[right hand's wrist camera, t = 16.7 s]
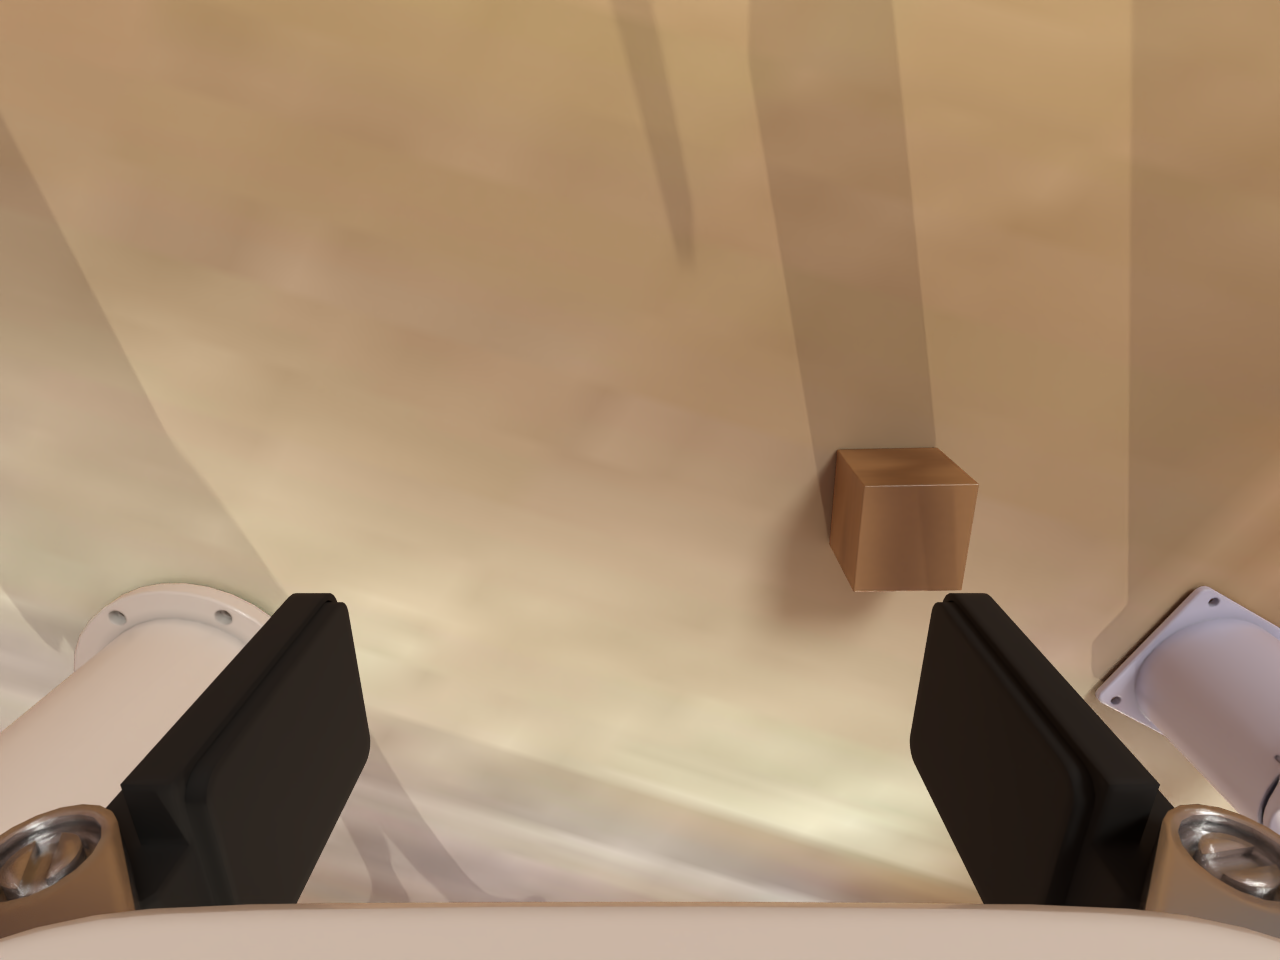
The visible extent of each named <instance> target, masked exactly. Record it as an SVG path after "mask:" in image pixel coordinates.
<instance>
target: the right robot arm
mask: <svg viewBox="0 0 1280 960" xmlns="http://www.w3.org/2000/svg"><path fill="white" fill-rule="evenodd" d="M369 749H370V734H369V729H368V723H367V717H366V711H365V705H364V700H363V694H362V688H361V682H360V677H359V671H358V665H357V659H356V653H355V648H354V642H353V636H352V630H351V624H350V619H349V613H348V609H347V606H346V605H345V603H343V602H337V600H336V598H335V597H334V595H332V594H331V593H295V594H292V595H291V596H290V597H288V599H287V600H286V601H285V602H284V603H283V604H282V605H281V606H280V607H279V609H278V610H277V611H276V612H275V613H274V614H273V615H272V616H270V615H268V614H267V613H265V612H264V611H262V610H261V609H259V608H258V607H256V606H255V605H253V604H251V603H249V602H247V601H245V600H243V599H241V598H239V597H237V596H235V595H233V594H230V593H227V592H224V591H220V590H217V589H214V588H211V587H207V586H200V585H194V584H188V583H161V584H155V585H150V586H145V587H140V588H138V589H135V590H133V591H130V592H128V593H125V594H123V595H121V596H120V597H118V598H117V599H115V600H114V601H112V602H111V603H110V604H108V605H107V606H105V607H104V608H102V609H101V610H100V611H99V612H98V613H97V614H96V615H95V616H94V617H93V618H91V619H90V620H89V622H88V623H87V625H86V626H85V628H84V629H83V631H82V633H81V634H80V636H79V639H78V642H77V646H76V649H75V653H74V673H73V674H72V675H70V676H69V677H68V678H67V679H65V680H64V681H63V682H62V683H61V684H59V685H58V686H57V687H56V688H55V689H53V690H52V691H51V692H50V693H48V694H47V695H46V696H45V697H44V698H42V699H41V700H40V701H39V702H37V703H36V704H35V705H34V706H33V707H31V708H30V709H29V710H28V711H27V712H25V713H24V714H23V715H22V716H20V717H19V718H18V719H17V720H16V721H14V722H13V723H12V724H11V725H9V726H8V727H7V728H6V729H5V730H3V731H2V732H1V733H0V960H1280V835H1279V834H1277V833H1276V832H1274V831H1273V830H1271V829H1270V828H1268V827H1266V826H1264V825H1262V824H1260V823H1258V822H1256V821H1254V820H1252V819H1250V818H1248V817H1246V816H1243V815H1241V814H1238V813H1235V812H1231V811H1228V810H1225V809H1222V808H1219V807H1213V806H1207V805H1200V804H1192V805H1180V806H1178V807H1176V808H1174V807H1173V806H1172V805H1171V804H1170V802H1169V801H1168V800H1167V799H1166V798H1165V797H1164V796H1163V795H1162V793H1161V792H1160V791H1159V790H1158V789H1159V786H1160V784H1159V783H1158V782H1157V781H1156V780H1155V779H1154V777H1153V776H1152V775H1151V774H1150V773H1149V772H1148V771H1147V770H1146V769H1145V767H1144V766H1143V765H1142V764H1141V763H1140V762H1139V761H1138V760H1137V759H1136V757H1135V756H1134V755H1133V754H1132V753H1131V752H1130V751H1129V750H1128V749H1127V747H1126V746H1125V745H1124V744H1123V743H1122V742H1121V741H1120V740H1119V739H1118V737H1117V736H1116V735H1115V734H1114V733H1113V732H1112V731H1111V730H1110V729H1109V727H1108V726H1107V725H1106V724H1105V723H1104V722H1103V721H1102V720H1101V719H1100V717H1099V716H1098V715H1097V714H1096V713H1095V712H1094V711H1093V710H1092V709H1091V707H1090V706H1089V705H1088V704H1087V703H1086V702H1085V701H1084V700H1083V699H1082V697H1081V696H1080V695H1079V694H1078V693H1077V692H1076V691H1075V690H1074V689H1073V687H1072V686H1071V685H1070V684H1069V683H1068V682H1067V681H1066V680H1065V679H1064V677H1063V676H1062V675H1061V674H1060V673H1059V672H1058V671H1057V670H1056V669H1055V667H1054V666H1053V665H1052V664H1051V663H1050V662H1049V661H1048V660H1047V659H1046V657H1045V656H1044V655H1043V654H1042V653H1041V652H1040V651H1039V650H1038V649H1037V647H1036V646H1035V645H1034V644H1033V643H1032V642H1031V641H1030V640H1029V639H1028V637H1027V636H1026V635H1025V634H1024V633H1023V632H1022V631H1021V630H1020V629H1019V627H1018V626H1017V625H1016V624H1015V623H1014V622H1013V621H1012V620H1011V619H1010V617H1009V616H1008V615H1007V614H1006V613H1005V612H1004V611H1003V610H1002V609H1001V607H1000V606H999V605H998V604H997V603H996V602H995V601H994V600H993V599H992V597H990V596H989V595H988V594H985V593H949V594H948V595H946V597H945V598H944V600H943V602H937V603H935V605H934V606H933V609H932V613H931V619H930V624H929V630H928V636H927V642H926V648H925V653H924V659H923V665H922V671H921V677H920V682H919V688H918V694H917V700H916V705H915V711H914V717H913V723H912V729H911V734H910V750H911V755H912V759H913V761H914V764H915V766H916V768H917V770H918V772H919V774H920V776H921V778H922V780H923V782H924V784H925V786H926V788H927V790H928V792H929V794H930V796H931V798H932V800H933V802H934V804H935V806H936V808H937V810H938V812H939V814H940V816H941V818H942V820H943V822H944V824H945V826H946V828H947V830H948V832H949V835H950V837H951V839H952V841H953V843H954V845H955V847H956V849H957V851H958V853H959V855H960V857H961V859H962V861H963V863H964V865H965V867H966V869H967V871H968V873H969V875H970V877H971V879H972V881H973V883H974V885H975V887H976V889H977V891H978V893H979V895H980V897H981V899H982V901H983V903H984V904H954V903H817V902H463V903H318V904H296V903H297V901H298V899H299V897H300V895H301V893H302V891H303V889H304V887H305V885H306V883H307V881H308V879H309V877H310V875H311V873H312V871H313V869H314V867H315V865H316V863H317V861H318V859H319V857H320V855H321V853H322V851H323V849H324V847H325V845H326V843H327V841H328V839H329V837H330V835H331V832H332V830H333V828H334V826H335V824H336V822H337V820H338V818H339V816H340V814H341V812H342V810H343V808H344V806H345V804H346V802H347V800H348V798H349V796H350V794H351V792H352V790H353V788H354V786H355V784H356V782H357V780H358V778H359V776H360V774H361V772H362V770H363V768H364V766H365V764H366V761H367V759H368V755H369Z"/></svg>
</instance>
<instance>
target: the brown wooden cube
mask: <svg viewBox="0 0 1280 960" xmlns="http://www.w3.org/2000/svg"><path fill="white" fill-rule="evenodd" d="M978 486H979V484H978V483H977V482H976V481H975V480H973V479H972V478H971V477H970V476H969V475H968V474H967V473H966V472H964V471H963V470H962V469H961V468H960V467H959V466H958V465H956V464H955V463H954V462H953V461H952V460H951V459H950V458H948V457H947V456H946V455H945V454H944V453H943V452H942V451H940V450H939V449H938V448H893V449H841V450H837V459H836V471H835V483H834V495H833V507H832V519H831V531H830V543H829V544H830V546H831V548H832V550H833V552H834V554H835V556H836V558H837V560H838V562H839V564H840V566H841V568H842V570H843V572H844V574H845V576H846V577H847V579H848V581H849V583H850V585H851V587H852V589H853V591H854V592H871V591H941V590H961V589H962V583H963V577H964V571H965V565H966V559H967V553H968V547H969V541H970V535H971V529H972V523H973V517H974V510H975V504H976V498H977V492H978Z"/></svg>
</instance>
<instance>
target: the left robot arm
mask: <svg viewBox="0 0 1280 960" xmlns="http://www.w3.org/2000/svg"><path fill="white" fill-rule="evenodd" d="M1212 598H1213V600H1212V601H1210V600H1211V599H1212ZM1209 601H1210V602H1209ZM1095 695H1096V698H1097V699H1098V700H1099V701H1100V702H1101V703H1103V704H1105V705H1107V706H1109V707H1111V708H1113V709H1114V710H1116V711H1118V712H1120V713H1122V714H1124V715H1126V716H1128V717H1130V718H1132V719H1134V720H1136V721H1138V722H1139V723H1141V724H1143V725H1145V726H1147V727H1149V728H1151V729H1153V730H1155V731H1157V732H1159V733H1161V734H1162V735H1164V736H1165V737H1166V738H1167V739H1168V740H1169V741H1170V742H1171V743H1172V744H1173V745H1174V746H1175V747H1176V748H1177V749H1178V750H1179V751H1180V752H1181V753H1182V754H1183V755H1184V756H1185V758H1186V759H1187V760H1188V761H1189V762H1190V763H1191V764H1192V765H1193V766H1194V767H1195V768H1196V769H1197V770H1198V771H1199V772H1200V773H1201V774H1202V775H1203V776H1204V777H1205V778H1206V779H1207V781H1208V782H1209V783H1210V784H1211V785H1212V786H1213V787H1214V788H1215V789H1216V790H1217V791H1218V792H1219V793H1220V794H1221V795H1222V796H1223V797H1224V798H1225V799H1226V800H1227V801H1228V802H1229V804H1230V805H1231V806H1232V807H1233V808H1234V809H1235V810H1236V811H1237V812H1238V813H1239V814H1241V815H1243V816H1246V817H1248V818H1250V819H1252V820H1254V821H1256V822H1258V823H1260V824H1262V825H1264V826H1266V827H1268V828H1270V829H1271V830H1273V831H1274V832H1276V833H1277V834H1279V835H1280V628H1279V627H1277V626H1276V625H1274V624H1272V623H1270V622H1269V621H1267V620H1265V619H1264V618H1262V617H1260V616H1258V615H1257V614H1255V613H1253V612H1251V611H1250V610H1248V609H1246V608H1244V607H1243V606H1241V605H1239V604H1238V603H1236V602H1234V601H1232V600H1231V599H1229V598H1227V597H1225V596H1224V595H1222V594H1220V593H1218V592H1217V591H1215V590H1213V589H1211V588H1210V587H1207V586H1201V587H1198V588H1196V589H1195V590H1194V591H1193V592H1192V593H1191V594H1190V595H1189V596H1188V597H1187V598H1186V599H1185V600H1184V601H1183V602H1182V603H1181V604H1180V605H1179V606H1178V607H1177V608H1176V609H1175V610H1174V611H1173V612H1172V613H1171V614H1170V615H1169V616H1168V617H1167V618H1166V619H1165V620H1164V621H1163V623H1162V624H1161V625H1160V626H1159V627H1158V628H1157V629H1156V630H1155V631H1154V632H1153V633H1152V634H1151V635H1150V636H1149V637H1148V638H1147V639H1146V640H1145V641H1144V642H1143V643H1142V644H1141V645H1140V646H1139V647H1138V648H1137V649H1136V650H1135V651H1134V652H1133V653H1132V654H1131V655H1130V656H1129V657H1128V658H1127V659H1126V660H1125V661H1124V662H1123V663H1122V664H1121V665H1120V666H1119V667H1118V669H1117V670H1116V671H1115V672H1114V673H1113V674H1112V675H1111V676H1110V677H1109V678H1108V679H1107V680H1106V681H1105V682H1104V683H1103V684H1102V685H1101V686H1100V687H1099V688H1098V689H1097V691H1096V693H1095ZM1114 697H1115V698H1114ZM1112 698H1114V699H1112Z"/></svg>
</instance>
